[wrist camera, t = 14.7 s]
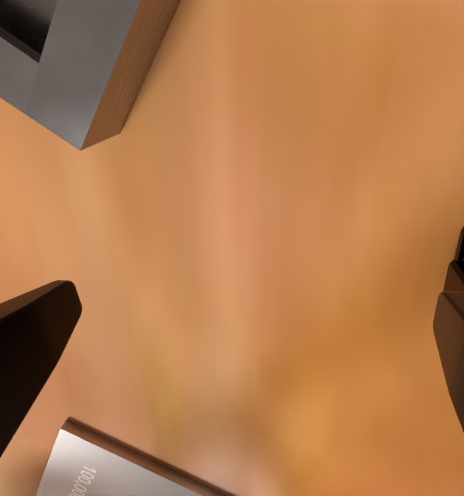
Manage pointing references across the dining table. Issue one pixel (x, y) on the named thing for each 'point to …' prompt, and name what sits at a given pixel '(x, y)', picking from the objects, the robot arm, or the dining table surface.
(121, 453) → the play button award
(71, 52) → the keyhole plate
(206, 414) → the dining table surface
